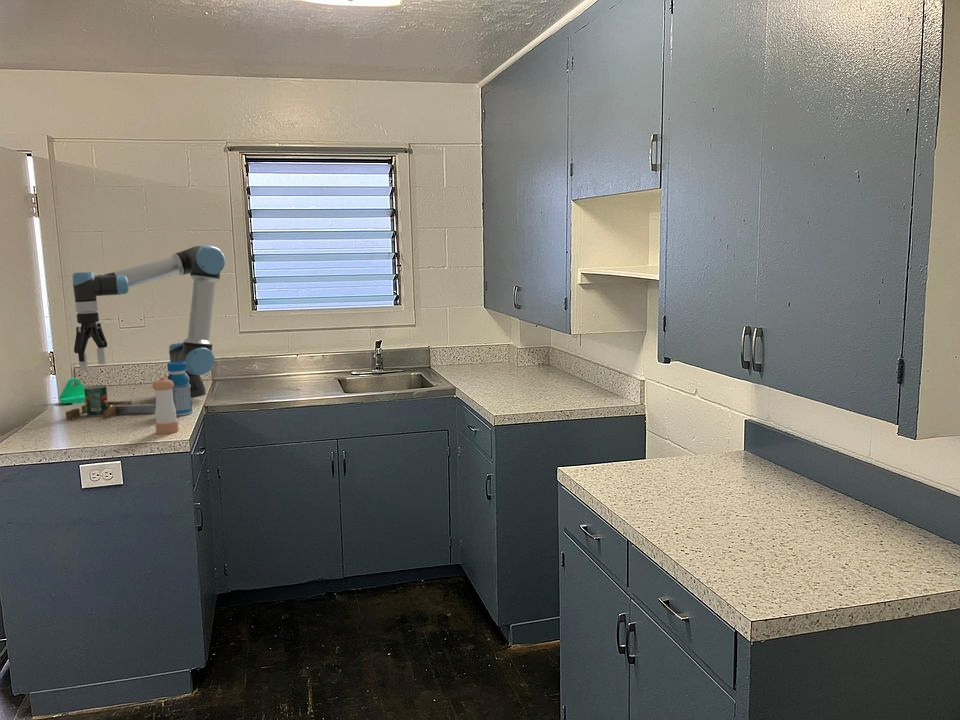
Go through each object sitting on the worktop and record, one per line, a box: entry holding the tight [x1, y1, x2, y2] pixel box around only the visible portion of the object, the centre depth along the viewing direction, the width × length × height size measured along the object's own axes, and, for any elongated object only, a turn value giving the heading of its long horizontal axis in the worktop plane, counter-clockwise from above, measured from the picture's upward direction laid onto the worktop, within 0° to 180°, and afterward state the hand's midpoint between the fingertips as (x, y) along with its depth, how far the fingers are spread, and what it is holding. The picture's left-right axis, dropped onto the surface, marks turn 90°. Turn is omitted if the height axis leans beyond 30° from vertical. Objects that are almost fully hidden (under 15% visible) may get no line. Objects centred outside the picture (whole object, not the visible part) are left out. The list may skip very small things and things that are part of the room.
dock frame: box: [65, 400, 133, 420], centre depth 312 cm, size 16×20×3 cm
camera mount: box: [58, 377, 86, 405], centre depth 338 cm, size 12×8×10 cm, turn 128°
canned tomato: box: [84, 384, 109, 417], centre depth 311 cm, size 8×8×11 cm
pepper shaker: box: [151, 377, 180, 435], centre depth 276 cm, size 7×7×19 cm
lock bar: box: [107, 403, 156, 415], centre depth 310 cm, size 18×3×3 cm, turn 88°
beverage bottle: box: [166, 361, 193, 417], centre depth 305 cm, size 8×8×20 cm
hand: (93, 367), depth 309 cm, fingers open, 13 cm apart
